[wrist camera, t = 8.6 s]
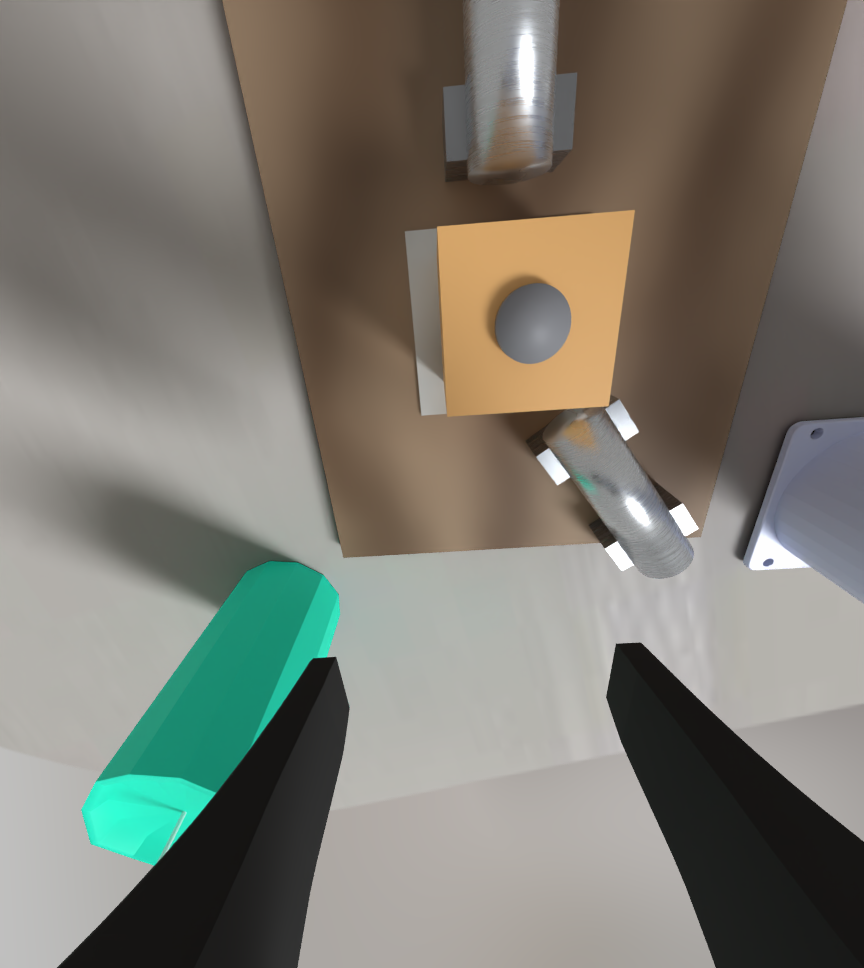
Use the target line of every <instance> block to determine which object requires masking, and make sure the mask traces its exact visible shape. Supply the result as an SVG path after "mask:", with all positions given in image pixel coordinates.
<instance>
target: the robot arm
mask: <svg viewBox="0 0 864 968" xmlns="http://www.w3.org/2000/svg"><path fill="white" fill-rule="evenodd" d="M813 430H815V431H814V433H813V434H812V435H811V433H812V431H813ZM743 563H744V565H745V566H747V567H748V568H749V569H751V570H767V569H786V568H804V567H812V568H813V569H814V570H816V571H817V572H819V573H820V574H822V575H823V576H825V577H826V578H827V579H829V580H830V581H832V582H833V583H835V584H836V585H838V586H839V587H840V588H842V589H843V590H845V591H846V592H848V593H849V594H850V595H852V596H853V597H855V598H856V599H858V600H859V601H861V602H862V603H863V604H864V417H856V418H842V419H827V420H813V421H801V422H797V423H795V424H794V425H792V426H791V427H790V428H789V430H788V431H787V434H786V437H785V439H784V442H783V445H782V448H781V451H780V454H779V457H778V460H777V463H776V466H775V469H774V472H773V475H772V478H771V480H770V483H769V486H768V489H767V492H766V495H765V498H764V501H763V504H762V507H761V510H760V513H759V516H758V518H757V521H756V524H755V527H754V530H753V533H752V536H751V539H750V542H749V545H748V548H747V551H746V554H745V557H744V559H743ZM606 698H607V701H608V704H609V707H610V710H611V713H612V716H613V719H614V722H615V725H616V728H617V731H618V734H619V737H620V740H621V742H622V745H623V747H624V749H625V752H626V754H627V756H628V758H629V760H630V763H631V765H632V767H633V769H634V772H635V774H636V776H637V778H638V780H639V783H640V785H641V787H642V789H643V791H644V793H645V796H646V798H647V800H648V802H649V804H650V807H651V809H652V811H653V813H654V816H655V818H656V820H657V822H658V824H659V827H660V829H661V831H662V833H663V835H664V837H665V840H666V842H667V844H668V846H669V848H670V851H671V853H672V855H673V857H674V860H675V862H676V864H677V866H678V869H679V871H680V874H681V876H682V879H683V881H684V883H685V886H686V888H687V891H688V894H689V896H690V899H691V902H692V904H693V907H694V910H695V912H696V915H697V918H698V920H699V923H700V926H701V929H702V931H703V934H704V936H705V939H706V942H707V944H708V947H709V950H710V953H711V955H712V958H713V961H714V964H715V967H716V968H864V842H863V841H862V840H861V839H860V838H858V837H857V836H856V835H855V834H853V833H852V832H851V831H849V830H848V829H847V828H846V827H844V826H843V825H842V824H841V823H839V822H838V821H837V820H836V819H834V818H833V817H832V816H830V815H829V814H828V813H827V812H825V811H824V810H823V809H822V808H821V807H819V806H818V805H817V804H816V803H815V802H813V801H812V800H811V799H810V798H809V797H807V796H806V795H805V794H804V793H803V792H801V791H800V790H799V789H798V788H797V787H795V786H794V785H793V784H792V783H791V782H789V781H788V780H787V779H786V778H785V777H784V776H783V775H781V774H780V773H779V772H778V771H777V770H776V769H775V768H773V767H772V766H771V765H770V764H769V763H768V762H767V761H765V760H764V759H763V758H762V757H761V756H760V755H758V754H757V753H756V752H755V751H754V750H753V749H752V748H751V747H750V746H748V745H747V744H746V743H745V742H744V741H743V740H742V739H741V738H740V737H738V736H737V735H736V734H735V733H734V732H733V731H732V730H731V729H730V728H729V727H728V726H727V725H726V724H724V723H723V722H722V721H721V720H720V719H719V718H718V717H717V716H716V715H715V714H714V713H713V712H712V711H710V710H709V709H708V708H707V707H706V706H705V705H704V704H703V703H702V702H701V701H700V700H699V699H698V698H697V697H696V696H695V695H694V694H693V693H692V692H691V691H690V690H689V689H688V688H687V687H686V686H684V685H683V684H682V683H681V682H680V681H679V680H678V679H677V678H676V677H675V676H674V675H673V674H672V673H671V672H670V671H669V670H668V669H667V668H666V667H665V666H664V665H663V664H662V663H661V662H660V661H659V660H658V659H657V658H656V657H655V656H654V655H653V654H652V653H651V652H650V651H649V650H648V649H647V648H646V647H645V646H644V645H643V644H642V643H623V644H616V647H615V653H614V658H613V663H612V669H611V674H610V680H609V685H608V690H607V696H606ZM348 716H349V704H348V700H347V696H346V693H345V689H344V685H343V681H342V677H341V674H340V670H339V666H338V662H337V659H336V657H326V658H313V659H312V660H311V661H310V662H309V664H308V665H307V667H306V668H305V670H304V671H303V673H302V674H301V676H300V677H299V679H298V681H297V682H296V684H295V685H294V687H293V688H292V690H291V691H290V693H289V694H288V696H287V697H286V699H285V700H284V701H283V703H282V704H281V706H280V707H279V709H278V710H277V712H276V713H275V715H274V716H273V717H272V719H271V720H270V722H269V723H268V724H267V726H266V727H265V729H264V730H263V731H262V733H261V734H260V736H259V737H258V738H257V740H256V741H255V743H254V744H253V745H252V747H251V748H250V750H249V751H248V752H247V754H246V755H245V756H244V758H243V759H242V760H241V761H240V763H239V764H238V765H237V767H236V768H235V769H234V771H233V772H232V773H231V774H230V776H229V777H228V778H227V780H226V781H225V782H224V784H223V785H222V786H221V787H220V789H219V790H218V791H217V793H216V794H215V795H214V796H213V798H212V799H211V800H210V801H209V802H208V804H207V805H206V806H205V807H204V809H203V810H202V811H201V812H200V814H199V815H198V816H197V817H196V818H195V820H194V821H193V822H192V823H191V824H190V825H189V827H188V828H187V829H186V830H185V831H184V832H183V834H182V835H181V836H180V837H179V838H178V839H177V841H176V842H175V843H174V844H173V845H172V846H171V848H170V849H169V850H168V851H167V852H166V853H165V854H164V856H163V857H162V858H161V859H160V860H159V861H158V862H157V863H156V864H155V866H154V867H153V868H152V869H151V870H150V871H149V872H148V873H147V875H145V877H144V878H143V879H142V880H141V881H140V882H139V883H138V884H137V885H136V887H135V888H134V889H133V890H132V891H131V892H130V893H129V894H128V895H127V896H126V898H125V899H124V900H123V901H122V902H121V903H120V904H119V905H118V906H117V907H116V908H115V909H114V910H113V911H112V912H111V913H110V914H109V916H108V917H107V918H106V919H105V920H104V921H103V922H102V923H101V924H100V925H99V926H98V927H97V928H96V929H95V930H94V931H93V932H92V933H91V934H90V935H89V936H88V937H87V938H86V939H85V940H84V941H83V942H82V943H81V944H80V945H79V946H78V947H77V948H76V949H75V950H74V951H73V952H72V954H71V955H69V956H68V957H67V958H66V959H65V960H64V961H63V962H62V963H61V964H60V965H59V966H58V967H57V968H297V967H298V960H299V954H300V948H301V943H302V937H303V931H304V924H305V919H306V913H307V907H308V901H309V896H310V890H311V886H312V881H313V877H314V872H315V867H316V862H317V859H318V855H319V851H320V847H321V842H322V838H323V834H324V830H325V826H326V822H327V818H328V814H329V810H330V806H331V802H332V797H333V793H334V789H335V785H336V781H337V777H338V773H339V768H340V764H341V760H342V756H343V751H344V744H345V737H346V731H347V723H348Z"/></svg>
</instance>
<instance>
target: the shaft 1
mask: <svg viewBox="0 0 864 968" xmlns="http://www.w3.org/2000/svg"><path fill="white" fill-rule="evenodd" d="M559 6H560V0H463V30H464V65H465V85H457V86H448V87H443V105H442V131H443V151H444V171H445V182H454V181H464V180H469V181H470V182H472V183H474V184H478V185H506V184H513V183H518V182H522V181H526V180H530V179H533V178H536V177H538V176H540V175H542V174H544V173H546V172H553V171H554V170H555V168H556V167H557V166H558V165H559V164H560V163H561V162H562V160H563V159H564V158H565V157H566V156H567V155H568V153H569V152H570V151H571V150H572V147H573V132H574V116H575V101H576V85H577V72H576V73H567V74H558V75H556V69H557V48H558V27H559Z"/></svg>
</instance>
